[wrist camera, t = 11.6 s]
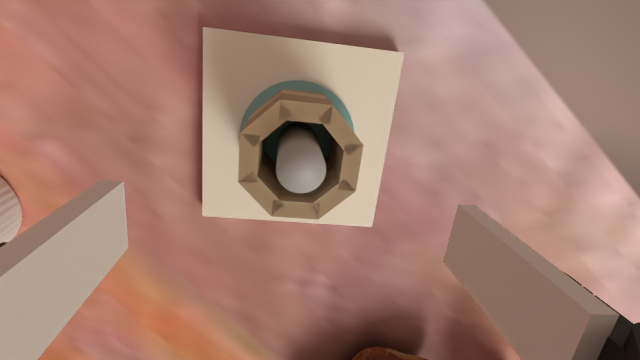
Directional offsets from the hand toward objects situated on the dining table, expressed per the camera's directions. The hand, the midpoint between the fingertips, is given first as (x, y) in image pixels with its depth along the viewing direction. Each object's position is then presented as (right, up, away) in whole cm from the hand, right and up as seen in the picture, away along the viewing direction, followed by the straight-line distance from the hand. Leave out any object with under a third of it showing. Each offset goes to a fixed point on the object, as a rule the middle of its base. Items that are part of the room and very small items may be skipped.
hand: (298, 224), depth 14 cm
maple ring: (-1, +5, +12) cm, 13 cm away
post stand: (-1, +5, +14) cm, 15 cm away
